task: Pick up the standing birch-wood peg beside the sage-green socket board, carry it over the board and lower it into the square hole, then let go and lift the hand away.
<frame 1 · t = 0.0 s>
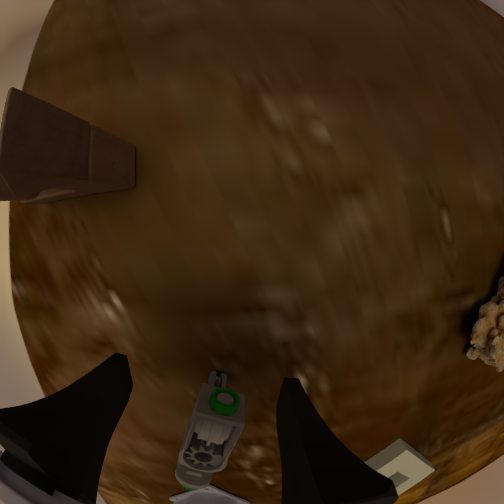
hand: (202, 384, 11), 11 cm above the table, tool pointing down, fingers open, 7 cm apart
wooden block: (85, 175, 20), on the table
mineral formation: (495, 318, 22), on the table
mechanical component: (218, 375, 23), on the table
socket board: (360, 487, 26), on the table
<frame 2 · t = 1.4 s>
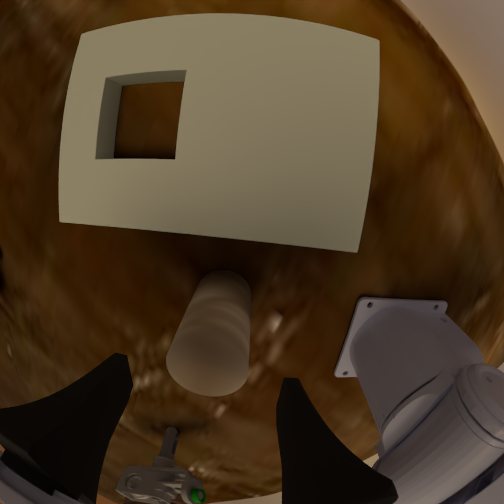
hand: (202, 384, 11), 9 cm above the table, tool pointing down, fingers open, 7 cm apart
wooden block: (163, 482, 32), on the table
mechanical component: (173, 429, 26), on the table
birch peg: (223, 295, 20), on the table
socket board: (209, 120, 16), on the table
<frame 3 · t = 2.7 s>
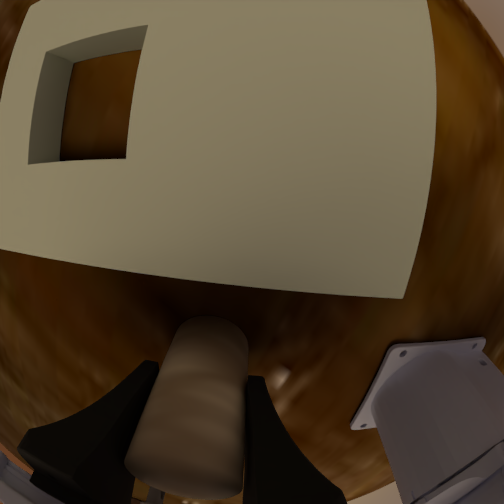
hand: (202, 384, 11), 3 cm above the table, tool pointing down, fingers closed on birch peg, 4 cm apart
mechanical component: (162, 470, 20), on the table
birch peg: (211, 346, 14), on the table, touching gripper
socket board: (184, 98, 10), on the table
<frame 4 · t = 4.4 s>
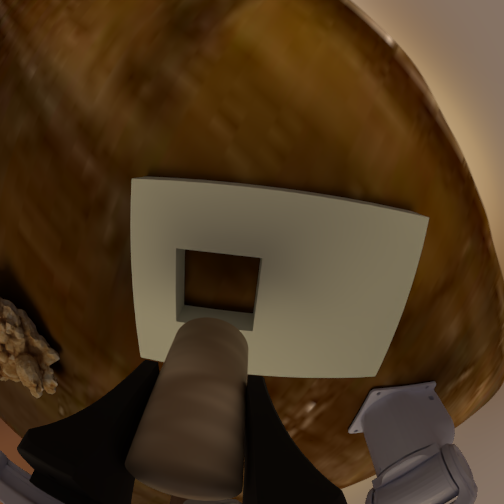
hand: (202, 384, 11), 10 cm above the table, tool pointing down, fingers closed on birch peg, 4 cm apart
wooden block: (197, 500, 37), on the table
mineral formation: (23, 322, 23), on the table
mechanical component: (218, 467, 30), on the table
birch peg: (210, 348, 14), point 7 cm above the table, touching gripper
socket board: (274, 283, 20), on the table
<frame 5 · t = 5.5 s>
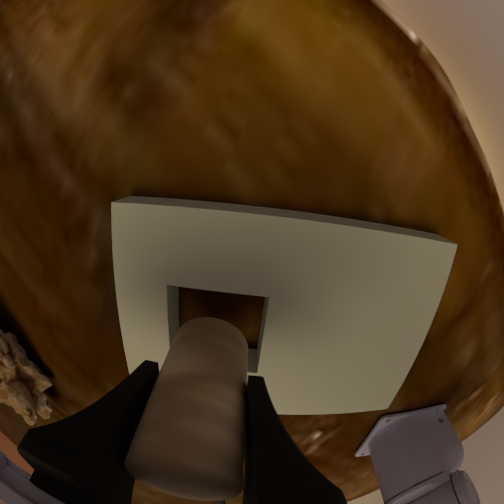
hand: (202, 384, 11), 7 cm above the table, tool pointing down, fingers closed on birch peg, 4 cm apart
mineral formation: (14, 345, 20), on the table
mechanical component: (220, 487, 27), on the table
birch peg: (210, 348, 14), point 4 cm above the table, touching gripper
socket board: (281, 318, 18), on the table
when the fingers open (3 cm above the table, at t = 6.5 s): birch peg stays where it is, resting in socket board.
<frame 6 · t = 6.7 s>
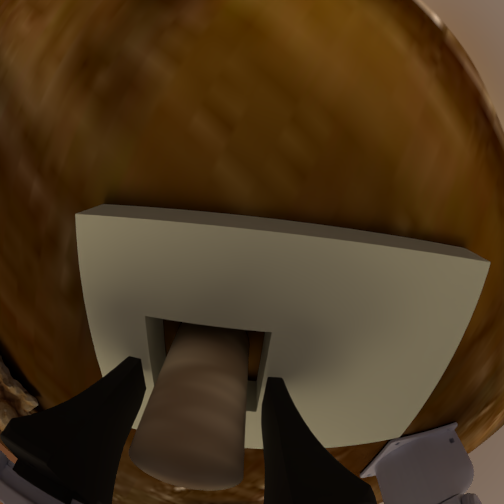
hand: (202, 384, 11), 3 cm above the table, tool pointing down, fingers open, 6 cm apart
birch peg: (212, 342, 14), resting in socket board
socket board: (285, 348, 14), on the table
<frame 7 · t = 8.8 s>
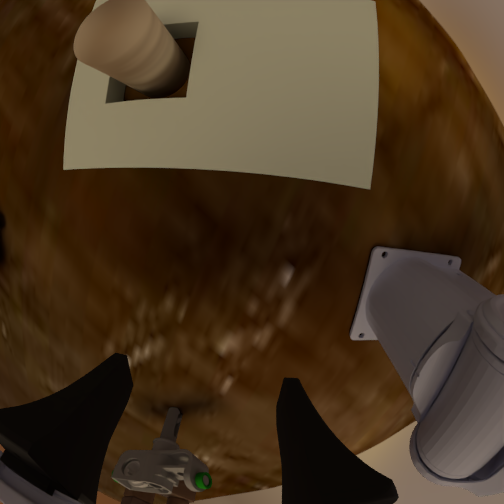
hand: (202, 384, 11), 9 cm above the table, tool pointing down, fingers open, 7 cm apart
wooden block: (165, 474, 31), on the table
mechanical component: (175, 410, 25), on the table
birch peg: (162, 72, 15), resting in socket board
socket board: (218, 69, 15), on the table
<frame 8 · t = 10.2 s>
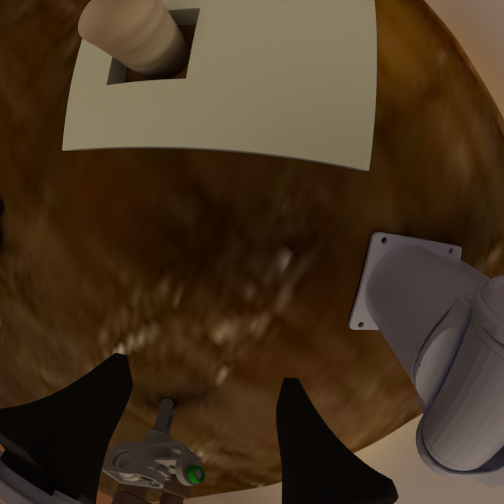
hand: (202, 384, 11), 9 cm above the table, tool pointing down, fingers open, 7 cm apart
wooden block: (159, 470, 31), on the table
mechanical component: (169, 402, 24), on the table
birch peg: (163, 57, 15), resting in socket board
socket board: (218, 54, 15), on the table
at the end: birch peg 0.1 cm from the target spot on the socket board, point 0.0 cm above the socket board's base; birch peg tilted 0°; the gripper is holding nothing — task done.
